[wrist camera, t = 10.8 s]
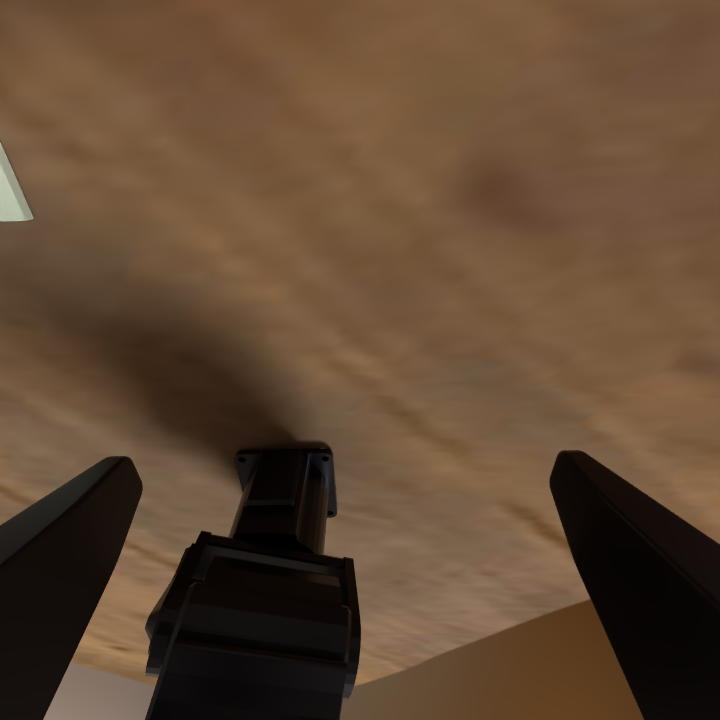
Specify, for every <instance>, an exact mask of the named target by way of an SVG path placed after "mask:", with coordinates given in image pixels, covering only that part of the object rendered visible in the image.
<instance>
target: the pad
mask: <svg viewBox="0 0 720 720" xmlns="http://www.w3.org/2000/svg"><path fill="white" fill-rule="evenodd" d="M31 219H34V217H33V215H32V213H31V211H30V208H29V206H28V204H27V202H26V199H25V197H24V195H23V192H22V190H21V188H20V186H19V183H18V181H17V179H16V176H15V174H14V172H13V170H12V167H11V165H10V163H9V161H8V158H7V156H6V154H5V151H4V149H3V147H2V145H1V142H0V221H27V220H31Z"/></svg>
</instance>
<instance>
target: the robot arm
mask: <svg viewBox="0 0 720 720" xmlns="http://www.w3.org/2000/svg"><path fill="white" fill-rule="evenodd" d="M323 456H327V457H323ZM241 457H243V458H241ZM234 460H235V464H236V468H237V471H238V475H239V479H240V483H241V487H242V490H243V495H242V498H241V501H240V504H239V507H238V510H237V513H236V516H235V519H234V522H233V525H232V528H231V531H230V534H229V537H223V536H217V535H212V534H211V532H206V531H201V533H200V535H199V537H198V539H197V541H196V543H195V544H194V543H192V545H191V547H189V548H186V549H185V552H184V554H183V556H182V559H181V561H180V564H179V566H178V568H177V570H176V573H175V575H174V577H173V579H172V581H171V582H170V584H169V585H168V587H167V589H166V590H165V592H164V593H163V595H162V596H161V598H160V600H159V601H158V603H157V604H156V606H155V607H154V609H153V610H152V612H151V614H150V615H149V618H148V620H147V623H146V626H145V630H146V633H147V635H148V637H149V640H150V645H149V650H148V654H149V658H148V662H147V666H146V676H152V677H158V680H157V684H156V687H155V690H154V693H153V697H152V699H151V703H150V706H149V709H148V712H147V715H146V718H145V720H339V719H340V712H341V706H342V700H343V701H346V700H347V699H349V697H350V695H351V693H352V690H353V687H354V684H355V679H356V675H357V669H358V664H359V655H360V643H361V624H360V613H359V605H358V596H357V587H356V579H355V570H354V562H353V559H352V558H347V557H344V558H337V557H332V556H327V555H323V554H324V543H325V531H326V520H327V518H331V517H335V516H336V515H337V499H336V486H335V473H334V461H333V453H332V451H331V450H329V449H279V450H240V451H238V452H237V453H236V455H235V459H234ZM549 482H550V489H551V492H552V495H553V499H554V502H555V505H556V508H557V511H558V514H559V517H560V520H561V523H562V526H563V529H564V532H565V535H566V538H567V542H568V545H569V548H570V551H571V553H572V556H573V559H574V562H575V564H576V567H577V569H578V571H579V574H580V576H581V578H582V581H583V583H584V585H585V587H586V590H587V592H588V594H589V596H590V599H591V601H592V603H593V605H594V608H595V610H596V612H597V614H598V617H599V619H600V621H601V623H602V626H603V628H604V630H605V632H606V635H607V637H608V639H609V641H610V644H611V646H612V648H613V651H614V653H615V655H616V657H617V660H618V662H619V664H620V666H621V668H622V671H623V673H624V675H625V678H626V680H627V682H628V684H629V687H630V689H631V691H632V694H633V696H634V698H635V700H636V703H637V705H638V707H639V709H640V712H641V714H642V716H643V718H644V720H720V544H718V543H717V542H716V541H714V540H713V539H711V538H710V537H708V536H707V535H705V534H704V533H702V532H701V531H699V530H698V529H696V528H695V527H693V526H692V525H691V524H689V523H688V522H686V521H685V520H683V519H682V518H680V517H679V516H677V515H676V514H674V513H673V512H671V511H670V510H668V509H667V508H666V507H664V506H663V505H661V504H660V503H658V502H657V501H655V500H654V499H652V498H651V497H649V496H648V495H646V494H645V493H643V492H642V491H641V490H639V489H638V488H636V487H635V486H633V485H632V484H630V483H629V482H627V481H626V480H624V479H623V478H621V477H620V476H618V475H617V474H615V473H614V472H613V471H611V470H610V469H608V468H607V467H605V466H604V465H602V464H601V463H599V462H598V461H596V460H595V459H593V458H592V457H590V456H589V455H588V454H586V453H584V452H583V451H579V450H564V451H561V452H559V453H558V455H557V458H556V461H555V464H554V467H553V470H552V473H551V476H550V481H549ZM142 489H143V486H142V481H141V479H140V477H139V475H138V472H137V470H136V468H135V466H134V464H133V461H132V460H131V459H130V458H129V457H126V456H111V457H107V458H105V459H103V460H101V461H100V462H98V463H97V464H95V465H94V466H92V467H91V468H89V469H87V470H86V471H84V472H83V473H81V474H80V475H78V476H77V477H75V478H73V479H72V480H70V481H69V482H67V483H66V484H64V485H63V486H61V487H59V488H58V489H56V490H55V491H53V492H52V493H50V494H49V495H47V496H45V497H44V498H42V499H41V500H39V501H38V502H36V503H35V504H33V505H31V506H30V507H28V508H27V509H25V510H24V511H22V512H20V513H19V514H17V515H16V516H14V517H13V518H11V519H10V520H8V521H6V522H5V523H3V524H2V525H0V720H43V719H44V716H45V714H46V712H47V710H48V708H49V706H50V704H51V702H52V700H53V697H54V695H55V693H56V691H57V689H58V687H59V685H60V683H61V681H62V678H63V676H64V674H65V672H66V670H67V668H68V666H69V664H70V661H71V659H72V657H73V655H74V653H75V651H76V649H77V647H78V645H79V642H80V640H81V638H82V636H83V634H84V632H85V630H86V628H87V626H88V623H89V621H90V619H91V617H92V615H93V613H94V611H95V609H96V607H97V604H98V602H99V600H100V598H101V596H102V594H103V592H104V590H105V588H106V585H107V583H108V581H109V579H110V577H111V575H112V572H113V570H114V568H115V566H116V563H117V561H118V558H119V556H120V553H121V550H122V548H123V545H124V542H125V539H126V536H127V534H128V531H129V528H130V525H131V522H132V520H133V517H134V514H135V511H136V509H137V506H138V503H139V500H140V497H141V494H142Z"/></svg>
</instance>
